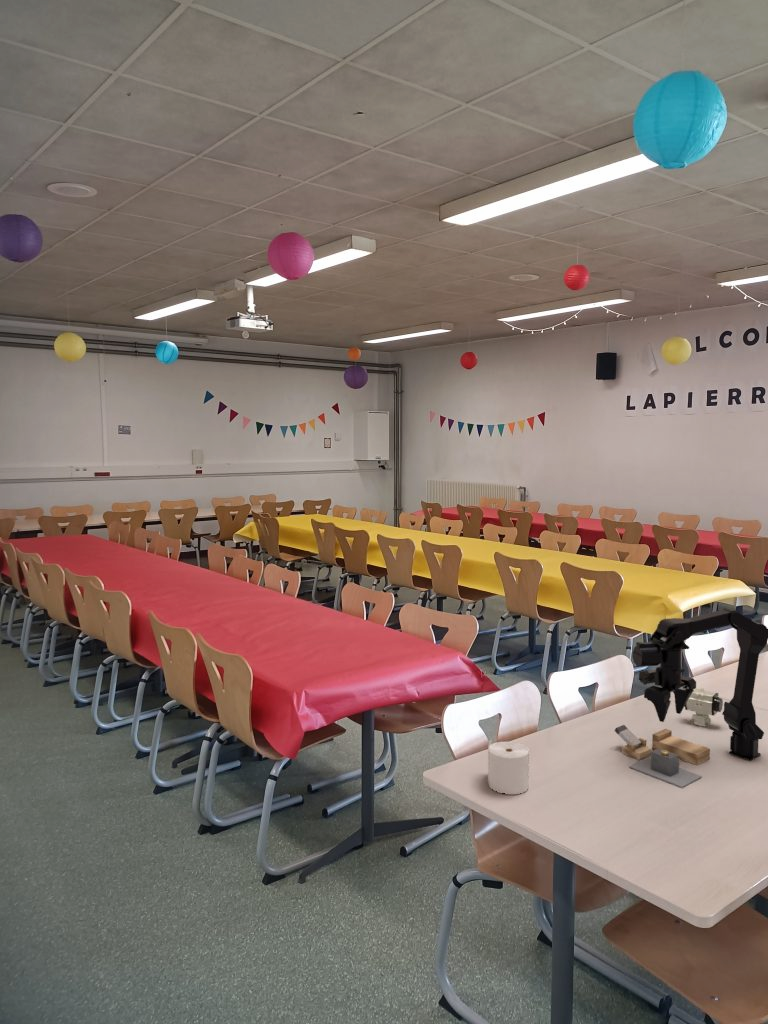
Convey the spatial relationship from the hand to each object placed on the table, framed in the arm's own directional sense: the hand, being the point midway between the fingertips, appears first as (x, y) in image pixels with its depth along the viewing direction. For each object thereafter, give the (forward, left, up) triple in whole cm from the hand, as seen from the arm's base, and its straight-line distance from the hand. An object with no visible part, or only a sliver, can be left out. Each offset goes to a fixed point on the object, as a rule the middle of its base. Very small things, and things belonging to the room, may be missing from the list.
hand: (670, 717), depth 206 cm
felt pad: (-4, +9, -13) cm, 16 cm away
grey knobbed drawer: (-4, +8, -12) cm, 15 cm away
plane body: (0, -6, -13) cm, 14 cm away
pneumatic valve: (+8, -32, -13) cm, 36 cm away
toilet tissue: (+18, +49, -13) cm, 53 cm away
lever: (+8, +4, -10) cm, 13 cm away
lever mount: (+8, +4, -13) cm, 15 cm away
